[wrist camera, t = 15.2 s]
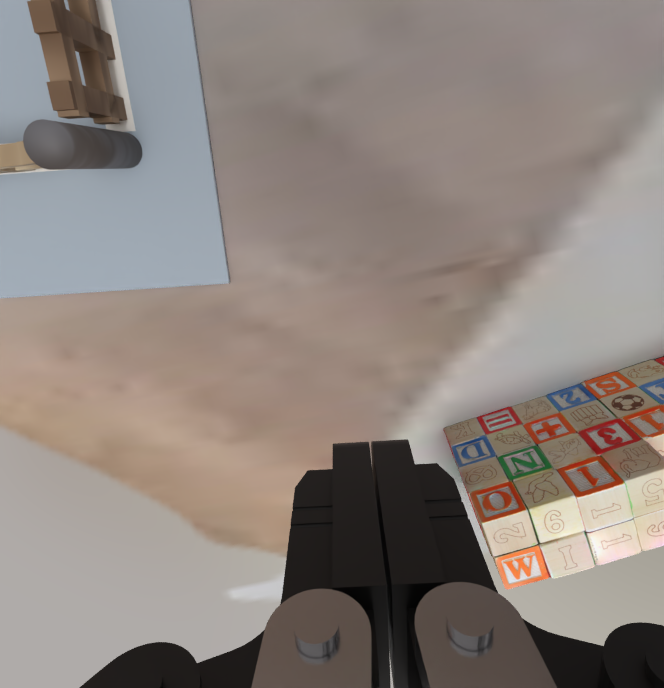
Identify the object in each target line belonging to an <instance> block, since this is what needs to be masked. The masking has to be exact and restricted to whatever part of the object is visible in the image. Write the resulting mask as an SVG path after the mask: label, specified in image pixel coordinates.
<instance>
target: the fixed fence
mask: <svg viewBox="0 0 664 688" xmlns="http://www.w3.org/2000/svg"><path fill="white" fill-rule="evenodd" d="M67 1H68V5H69V10H70V11H69V10H67V9H66V7H65V2H64V0H31V1H27V4H28V8H29V12H30V16H31V20H32V25H33V29H34V33H36V34H38V35H39V38H40V42H41V46H42V50H43V54H44V59H45V63H46V67H47V71H48V75H49V80H50V82H46V83H47V87H48V91H49V95H50V99H51V104H52V108H53V111H57V113H58V117H61V118H66V119H76V118H93V121H94V123H95V124H101V125H105V124H119V123H120V121H126V120H127V115H126V109H125V104H124V99H123V98H122V97H119V96H116V95H114V91H113V86H112V81H111V76H110V71H109V66H108V61H107V60H116V58H115V53H114V48H113V42H112V37H111V35H110V34H108V33H106V32H105V31H103V30H101V25H100V20H99V15H98V10H97V5H96V0H67ZM75 51H77V52H79V56H80V61H81V66H82V70H83V75H84V79H85V84H86V86H84V85H82V80H81V76H80V71H79V67H78V62H77V58H76V53H75ZM23 144H24V148H25V151H26V153H27V155H28V156H29V158H30V159H31V160H32V161H33V162H34V163H35V164H37V165H38V166H40V167H42V168H44V169H49V170H65V169H125V168H133V167H135V166H137V165H138V164H139V162H140V161H141V159H142V147H141V144H140V142H139V141H138V140H137V138H136V137H135V136H133V135H132V134H130V133H127V132H121V131H115V130H108V129H102V128H95V127H89V126H83V125H76V124H70V123H64V122H57V121H51V120H44V119H40V120H36V121H33V122H32V123H30V124H29V125H28V126H27V128H26V129H25V132H24V136H23Z"/></svg>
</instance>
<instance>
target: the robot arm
mask: <svg viewBox="0 0 664 688" xmlns="http://www.w3.org/2000/svg"><path fill="white" fill-rule="evenodd" d="M371 450H372V464H371V456H370V448H369V442H356V443H338V444H333V469H328V470H310V471H307V472H306V474H305V475H304V476H303V478H302V479H301V480H300V482H299V483H298V485H297V486H296V487H295V493H294V501H293V511H292V518H291V529H290V535H289V543H288V551H287V560H286V568H285V577H284V585H283V593H282V599H281V604H280V606H279V607H278V608H277V609H276V610H275V611H274V612H273V614H272V615H271V617H270V619H269V620H268V622H267V625H266V628H265V630H264V631H263V632H262V633H261V634H260V635H258V636H257V637H256V638H254V639H253V640H252V641H250V642H248V643H247V644H245V645H244V646H242V647H239V648H237V649H235V650H232V651H230V652H227V653H224V654H222V655H219V656H216V657H213V658H211V659H208V660H205V661H202V662H200V663H196V661H195V659H194V657H193V656H192V655H191V654H190V653H189V652H188V651H187V650H186V649H184V648H183V647H181V646H178V645H176V644H172V643H166V642H156V643H150V644H145V645H142V646H139V647H136V648H134V649H131V650H129V651H127V652H125V653H124V654H122V655H120V656H118V657H117V658H116V659H114V660H113V661H112V662H110V663H109V664H108V665H106V666H105V667H104V668H103V669H102V670H100V671H99V672H98V673H97V674H95V675H94V676H93V677H92V678H91V679H89V680H88V681H87V682H86V683H85V684H84V685H82V686H81V687H80V688H390V662H389V651H390V660H391V668H392V677H393V686H394V688H664V626H662V625H657V624H652V623H630V624H626V625H623V626H620V627H618V628H617V629H615V630H614V631H613V632H612V633H610V634H609V636H608V638H607V639H606V641H605V644H604V646H600V645H596V644H592V643H588V642H584V641H579V640H576V639H572V638H568V637H563V636H560V635H556V634H553V633H550V632H547V631H545V630H542V629H540V628H538V627H536V626H534V625H532V624H530V623H528V622H527V621H525V620H524V619H522V618H521V616H520V614H519V613H518V611H517V610H516V609H515V608H514V606H513V605H512V604H511V603H510V602H509V601H508V600H506V599H505V598H504V597H503V596H501V595H500V594H498V592H497V590H496V587H495V586H494V583H493V580H492V578H491V575H490V572H489V570H488V567H487V564H486V562H485V559H484V557H483V554H482V551H481V549H480V546H479V544H478V541H477V538H476V536H475V533H474V530H473V528H472V525H471V523H470V520H469V519H468V515H467V512H466V510H465V507H464V504H463V502H462V501H461V496H460V494H459V491H458V489H457V486H456V483H455V481H454V479H453V478H452V477H451V476H450V475H449V474H448V473H447V472H446V471H445V470H443V469H442V468H441V467H440V466H439V465H438V464H437V463H435V464H417V465H415V464H414V460H413V456H412V453H411V449H410V445H409V442H408V440H389V441H372V442H371Z"/></svg>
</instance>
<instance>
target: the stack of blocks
mask: <svg viewBox="0 0 664 688" xmlns="http://www.w3.org/2000/svg"><path fill="white" fill-rule="evenodd" d="M444 432H445V434H446V437H447V440H448V443H449V445H450V448H451V451H452V454H453V456H454V459H455V461H456V464H457V466H458V469H459V472H460V475H461V477H462V480H463V483H464V486H465V488H466V491H467V493H468V496H469V499H470V501H471V504H472V507H473V510H474V512H475V515H476V518H477V520H478V523H479V525H480V528H481V530H482V533H483V536H484V538H485V540H486V543H487V546H488V548H489V551H490V554H491V556H492V557H493V559H494V562H495V564H496V566H497V569H498V572H499V574H500V577H501V579H502V582H503V584H504V587H505V589H507V590H508V589H512V588H515V587H519V586H522V585H525V584H529V583H533V582H537V581H540V580H544V579H547V578H549V577H551V578H553V579H556V578H559V577H563V576H567V575H570V574H573V573H577V572H580V571H584V570H587V569H590V568H593V567H595V564H597V565H602V564H606V563H609V562H612V561H615V560H619V559H622V558H625V557H628V556H632V555H636V554H638V553H640V552H641V551H647V550H651V549H654V548H657V547H660V546H664V357H661V358H658V359H656V360H649V361H646V362H643V363H640V364H636V365H634V366H631V367H628V368H624V369H622V370H619V371H618V372H613V373H609V374H606V375H603V376H600V377H597V378H594V379H591V380H588V381H584V382H582V383H581V384H578V385H575V386H572V387H569V388H566V389H563V390H560V391H557V392H554V393H551V394H548V395H546V396H542V397H539V398H536V399H533V400H530V401H527V402H524V403H521V404H518V405H515V406H513V407H507V408H504V409H501V410H498V411H495V412H492V413H489V414H486V415H482V416H480V417H477V418H473V419H470V420H466V421H463V422H460V423H457V424H454V425H451V426H448V427H445V428H444Z"/></svg>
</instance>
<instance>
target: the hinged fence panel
mask: <svg viewBox="0 0 664 688" xmlns="http://www.w3.org/2000/svg"><path fill="white" fill-rule="evenodd" d="M36 169H42V167H40V166H38V165H37V164H35V163H34V162H33V161H32V160H31V159H30V158H29V156H28V155H27V153H26V151H25V148H24V144H23V141H19V142H16V143H9V144H1V145H0V173H15V172H25V171H33V170H36Z"/></svg>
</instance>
